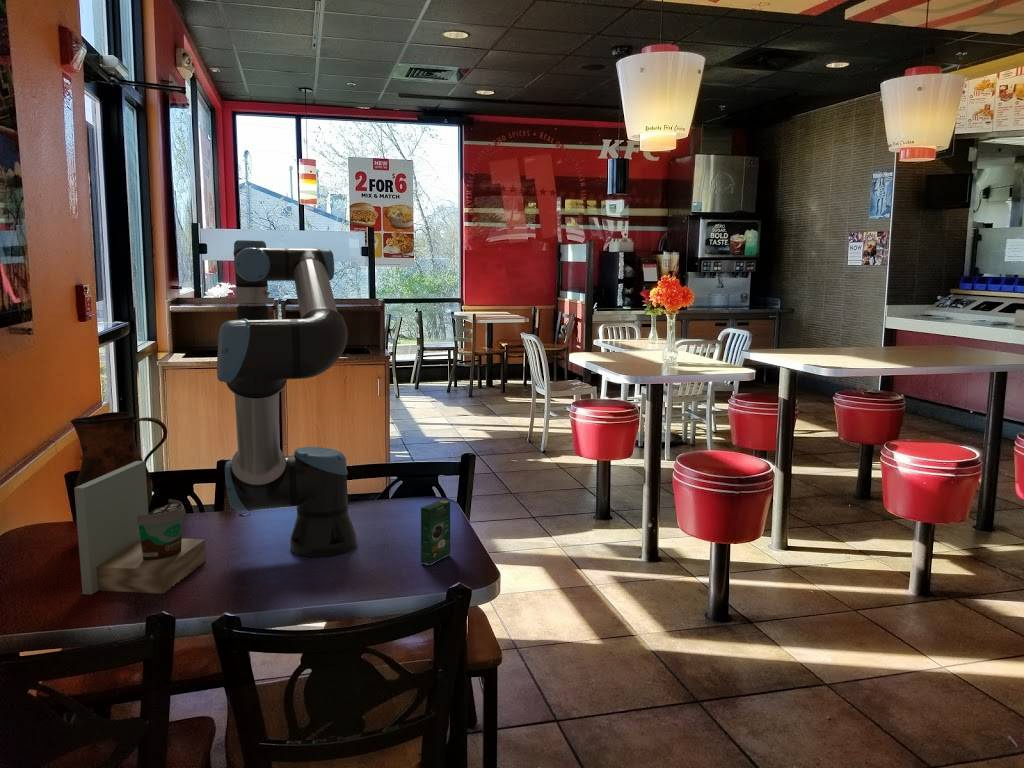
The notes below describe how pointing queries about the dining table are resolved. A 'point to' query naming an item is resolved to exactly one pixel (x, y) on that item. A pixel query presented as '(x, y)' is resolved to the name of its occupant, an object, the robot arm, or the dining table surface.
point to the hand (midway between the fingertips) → (256, 391)
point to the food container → (161, 531)
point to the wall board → (109, 517)
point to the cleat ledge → (149, 569)
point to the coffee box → (435, 531)
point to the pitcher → (110, 445)
